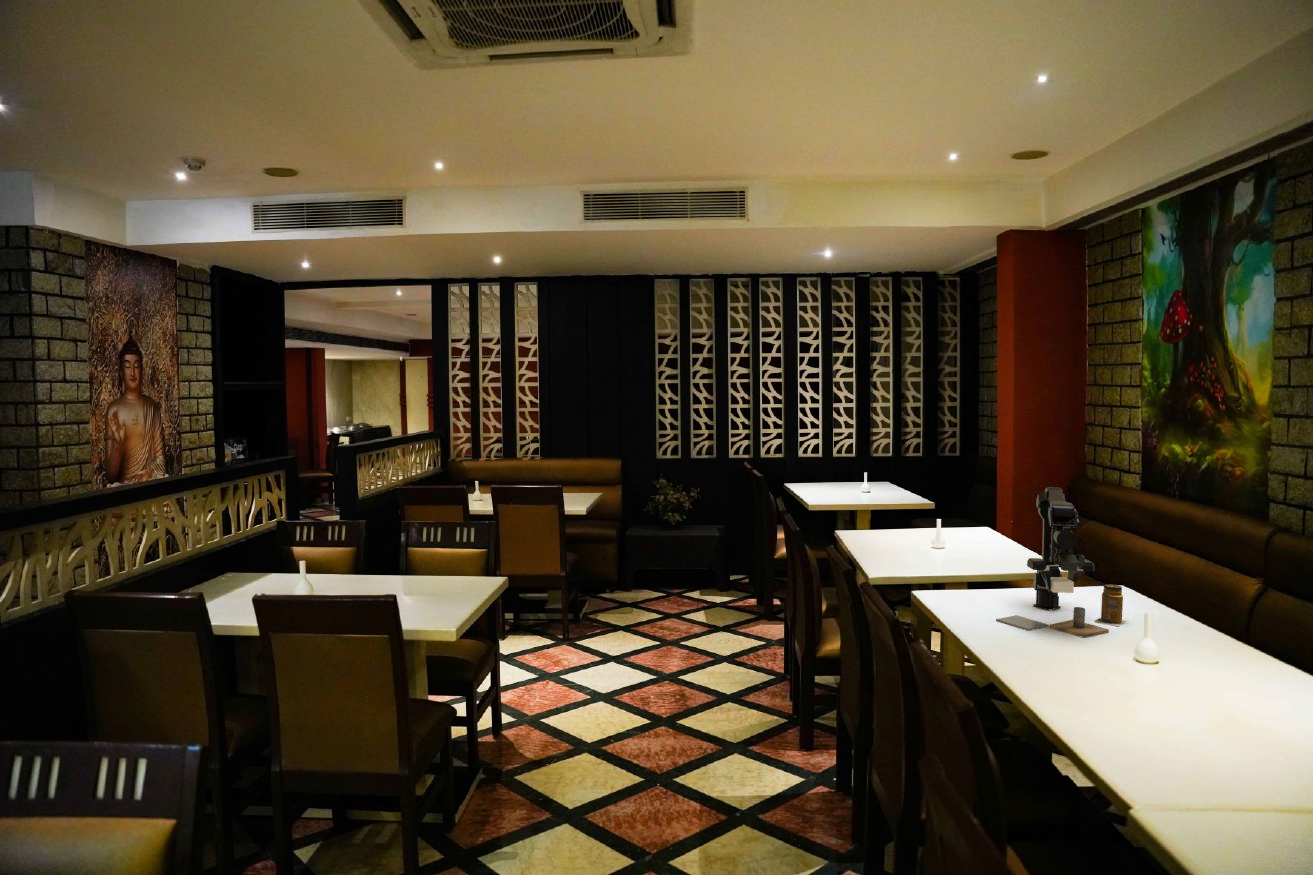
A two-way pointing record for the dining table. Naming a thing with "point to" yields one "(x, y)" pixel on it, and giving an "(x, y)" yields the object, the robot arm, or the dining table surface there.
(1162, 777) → the dining table surface
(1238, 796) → the dining table surface
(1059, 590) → the tan cardboard carton
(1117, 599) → the condiment
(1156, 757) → the dining table surface
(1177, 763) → the dining table surface
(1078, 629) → the post base
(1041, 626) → the pad
